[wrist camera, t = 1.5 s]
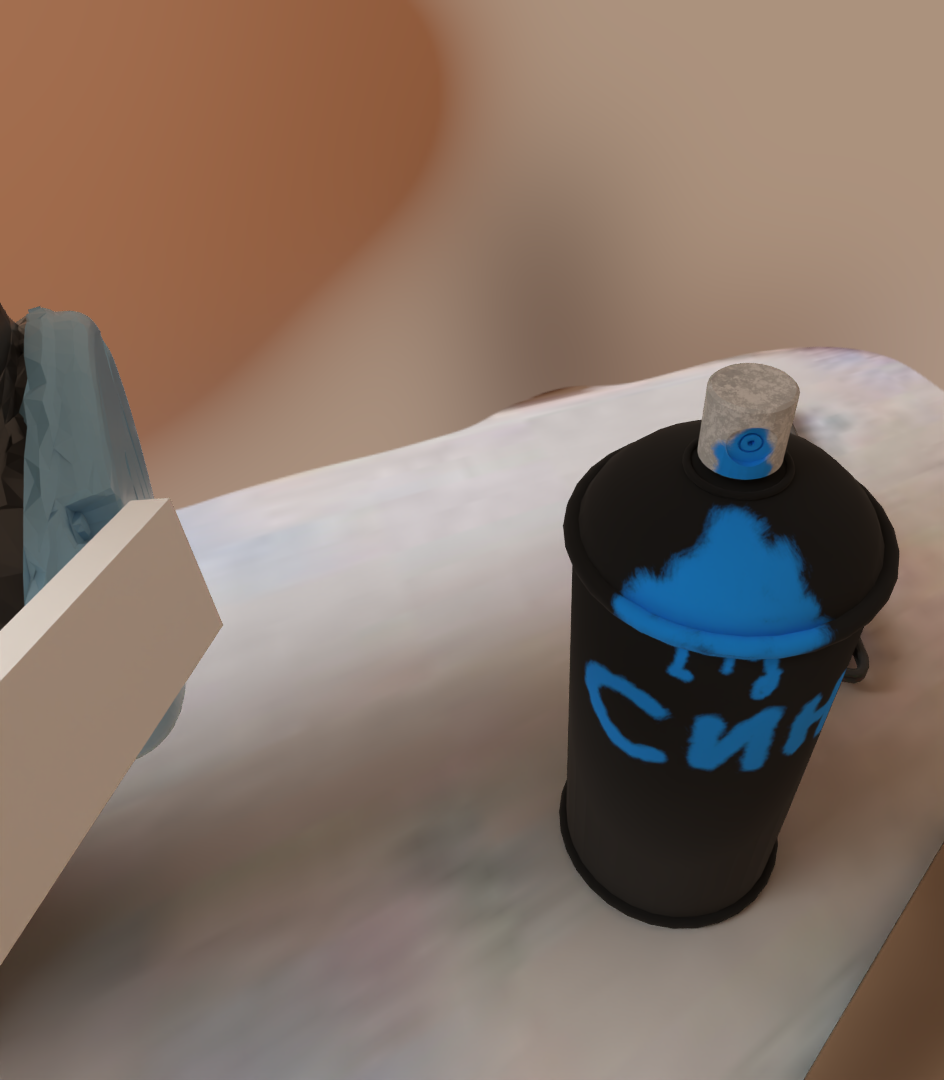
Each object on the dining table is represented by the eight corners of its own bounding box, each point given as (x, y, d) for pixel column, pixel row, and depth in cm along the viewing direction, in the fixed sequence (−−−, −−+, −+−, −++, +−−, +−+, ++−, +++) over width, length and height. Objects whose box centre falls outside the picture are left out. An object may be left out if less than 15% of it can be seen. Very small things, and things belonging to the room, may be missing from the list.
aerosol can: (561, 725, 35) (568, 296, 21) (759, 735, 34) (901, 292, 20) (555, 921, 29) (559, 506, 15) (794, 940, 28) (1026, 515, 14)
